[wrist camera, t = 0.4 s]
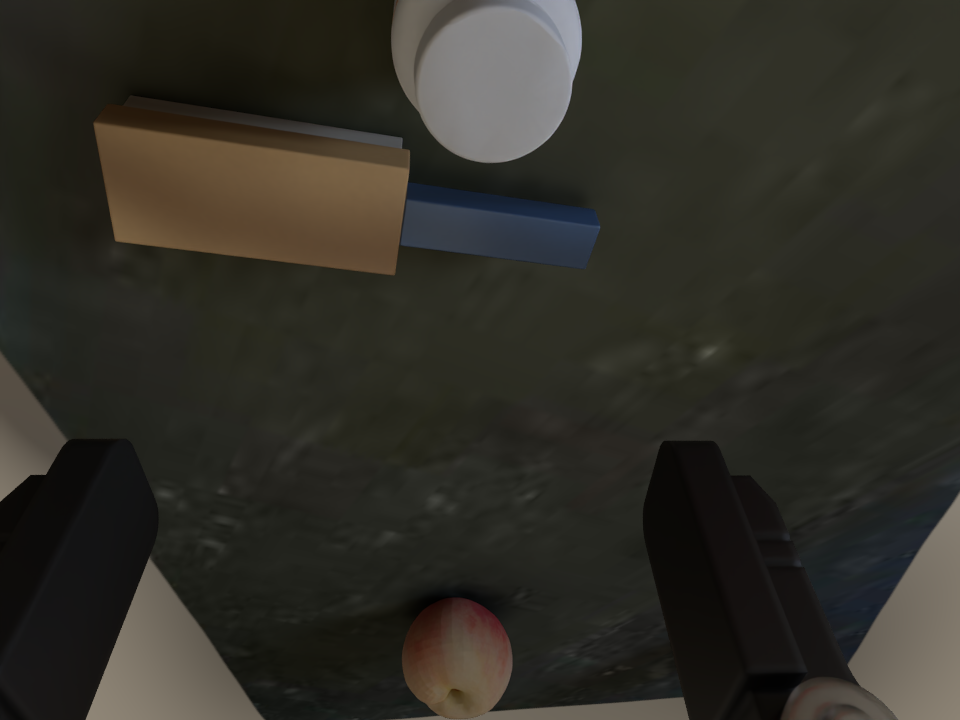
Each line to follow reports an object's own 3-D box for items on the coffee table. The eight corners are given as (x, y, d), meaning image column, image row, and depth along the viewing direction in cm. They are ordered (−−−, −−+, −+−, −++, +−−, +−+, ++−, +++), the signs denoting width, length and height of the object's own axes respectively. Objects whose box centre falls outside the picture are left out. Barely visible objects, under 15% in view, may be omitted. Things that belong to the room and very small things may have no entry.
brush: (120, 85, 26) (92, 121, 24) (599, 161, 30) (613, 199, 27) (137, 201, 30) (114, 242, 28) (566, 257, 33) (576, 298, 31)
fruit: (477, 571, 52) (483, 680, 46) (521, 613, 57) (532, 717, 51) (385, 599, 54) (381, 707, 49) (436, 638, 59) (437, 740, 54)
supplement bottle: (583, -38, 24) (647, 70, 17) (486, 85, 27) (508, 221, 20) (460, -155, 22) (476, -85, 15) (368, -7, 25) (344, 112, 18)
